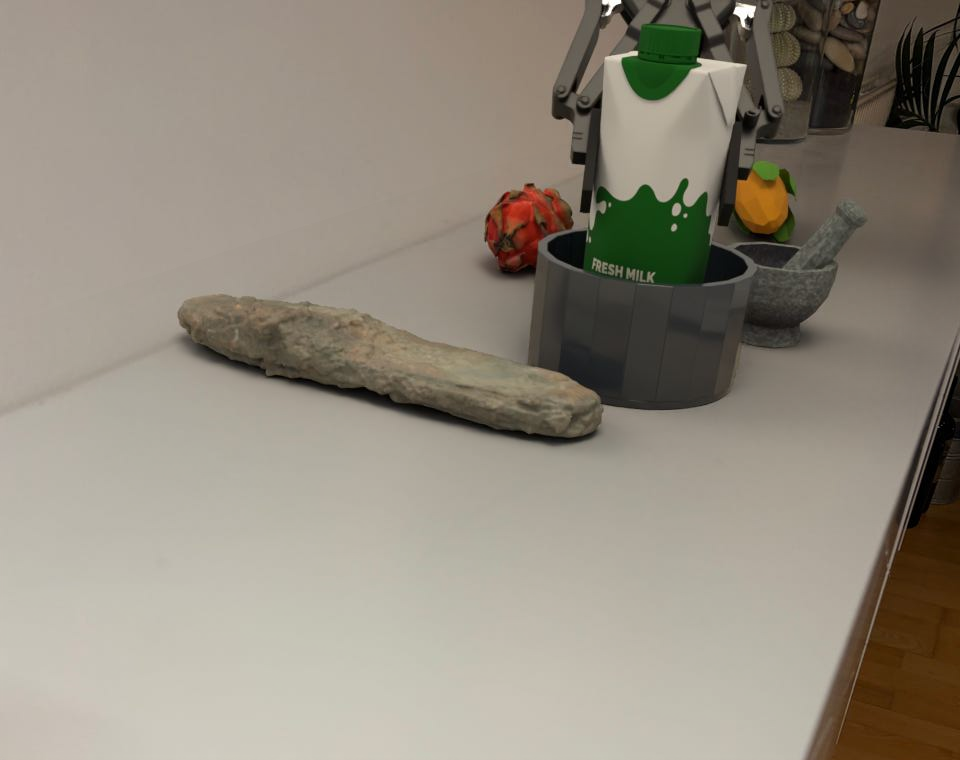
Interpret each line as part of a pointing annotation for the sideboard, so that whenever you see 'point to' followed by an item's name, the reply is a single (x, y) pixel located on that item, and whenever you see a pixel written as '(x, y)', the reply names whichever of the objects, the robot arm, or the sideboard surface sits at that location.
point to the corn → (765, 201)
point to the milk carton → (661, 158)
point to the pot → (639, 327)
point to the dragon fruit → (524, 225)
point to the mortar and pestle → (795, 278)
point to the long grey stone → (390, 363)
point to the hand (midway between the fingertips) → (655, 208)
